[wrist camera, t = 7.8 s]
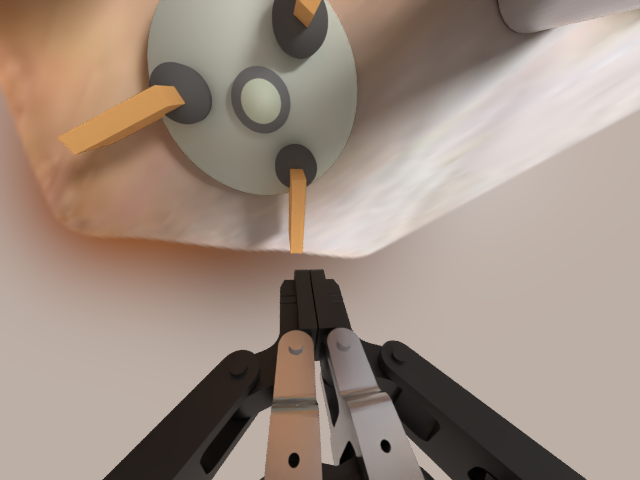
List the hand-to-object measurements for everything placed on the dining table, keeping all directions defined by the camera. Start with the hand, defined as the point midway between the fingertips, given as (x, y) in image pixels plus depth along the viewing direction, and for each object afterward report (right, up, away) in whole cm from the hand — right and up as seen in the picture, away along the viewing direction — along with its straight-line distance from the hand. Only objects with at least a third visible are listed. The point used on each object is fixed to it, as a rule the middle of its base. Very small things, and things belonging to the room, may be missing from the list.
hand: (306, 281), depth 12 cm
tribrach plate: (-5, +15, +9) cm, 18 cm away
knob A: (-13, +13, +6) cm, 19 cm away
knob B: (-2, +7, +12) cm, 14 cm away
